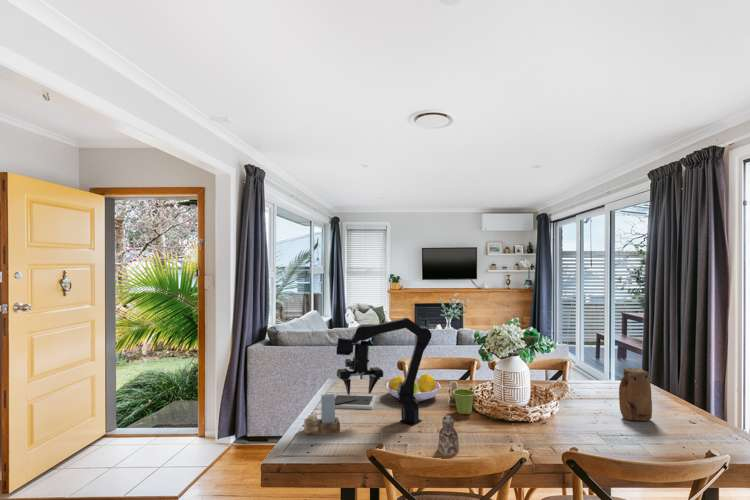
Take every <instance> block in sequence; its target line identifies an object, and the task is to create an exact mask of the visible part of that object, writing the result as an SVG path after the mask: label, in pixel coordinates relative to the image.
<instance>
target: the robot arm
mask: <svg viewBox="0 0 750 500" xmlns="http://www.w3.org/2000/svg"><path fill="white" fill-rule="evenodd" d="M402 329H404V330H405V329H406V330H409V331H410V332H411V333H412V334H414V349H412V350H413V351H412V355H411V358H410V362H409V364H408V367H407V371H406V375H405V376H404V378H405V380H404V381H403V383H402V382H399V387H398V389H397V393H398V397H399V398H398V400H399V402H400V404H401V412H400V413H401V419H400V420H399V422H400V423H403V424H405V425H409V426H414V425H416V424H418V423H420V422H422V420H421V419H420V418H419V417H420V415H419V413H420V412H419V402H417V400H416V398H415V397H414V396H413V395H414V382H415V379H416V378H417V374H418V371H419V368H420V365H421V362H422V358H423V356H424V355H423V354H424V352H425V350H426V348H428V346H429V343H430V341H431V339H432V332H431V330H430V329H429V328H427V326H425V325H421V326H420V325H419V324H418V323H416V322H414V321H413V320H411V319H410V318H409V317H403V318H401V319H396V320H395V319H394V320H391V321H387V322H382V323H376V324H373V323H369V324H366V323H365V324H363V323H362V324H360V325H358V326H357V327H356V330H355V333H354V334H353V335H352V336H351V337H350V338H343V337H338V338H337V346H336V355H337V356H351V355H352V354H353V353H354V356H353V358H352V359H351V358H346V359H345V361H344V366H345V368H338V369H337V371H336V376H337V378H338V379H339V380H342V381H343V383H344V386H345V390H346V393H347V394H348V395H349V394H350V395H351V382H352V380H351V379H350V378H351V377H353V376H356V377H357V376H368V379H369V381H368V395H371V393H372V391H373V389H374V388H375V385H376V384H377V382H378V380H381V378H384V370H383V369H382V368H380V367H378V366H376V367H375V366H373V367H370V368H369V369H368V366H369V365H368V364H369V363H370V359H369V349H370V348H369V347H374V342H373V341H372V340H371V339H372V338H373V337H376V336H377V335H381V334H385V333H389V332H393V331H398V330H402ZM347 368H348V369H347Z"/></svg>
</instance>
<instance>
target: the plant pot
mask: <svg viewBox="0 0 750 500" xmlns="http://www.w3.org/2000/svg"><path fill="white" fill-rule="evenodd" d="M452 394H453V396H454V398H455V406H456V411H457V413H458V414H460V415H470V414H472V411H473V403H474V397H475V395H476V392H475V391H474V390H472V389H467V388H457V389H454V390H453V391H452Z"/></svg>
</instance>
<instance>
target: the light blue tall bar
mask: <svg viewBox="0 0 750 500" xmlns="http://www.w3.org/2000/svg"><path fill="white" fill-rule="evenodd" d="M320 396H321V397H320V405H321V407H320V409H321V411H320V413H321V415H320V416H321V418H320V419H321V424H324V423H334V422H335V417H336V408H335V393H327V394H321V395H320Z"/></svg>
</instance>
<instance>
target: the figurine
mask: <svg viewBox="0 0 750 500" xmlns="http://www.w3.org/2000/svg"><path fill="white" fill-rule="evenodd" d="M441 422H442V423H441V424H442V427H441V429H440V430H439V433H438V443H437V446H438V447H437V449H438V452H440V453H441V454H442V455H444V454H445V455H446V456H454V455H453V454H455V455H457V453H459V452H460V442H459V434H458V431H457V430H456V428H454V427H455V425H454V423H455V420H454V419H453V416H451V413H450V412H447V413H446V415H444V416H443V418H442V420H441Z"/></svg>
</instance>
